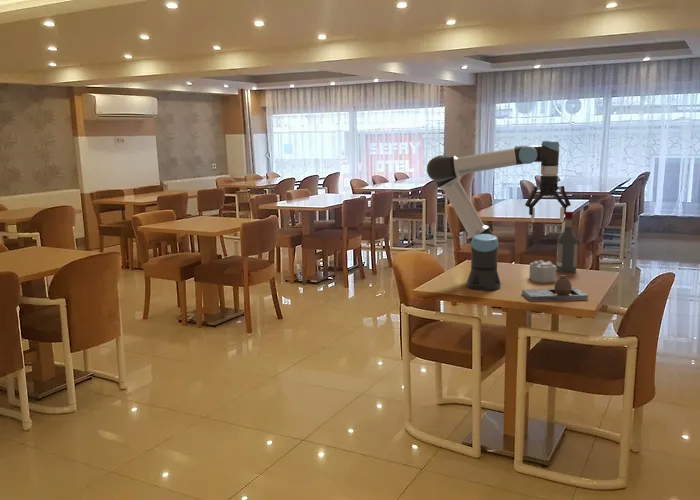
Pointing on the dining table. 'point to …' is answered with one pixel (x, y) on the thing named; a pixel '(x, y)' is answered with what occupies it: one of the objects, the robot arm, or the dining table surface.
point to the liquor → (567, 247)
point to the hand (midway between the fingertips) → (547, 221)
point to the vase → (563, 286)
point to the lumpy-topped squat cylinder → (542, 271)
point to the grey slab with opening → (553, 295)
